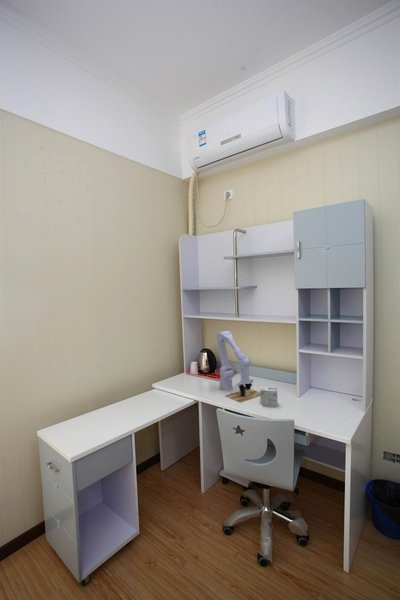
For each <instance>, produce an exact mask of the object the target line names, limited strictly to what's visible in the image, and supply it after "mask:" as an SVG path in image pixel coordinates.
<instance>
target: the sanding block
mask: <svg viewBox="0 0 400 600" xmlns="http://www.w3.org/2000/svg"><path fill="white" fill-rule="evenodd" d="M250 389H251V388H250ZM250 389H247V388H246V387H245V394H244V396H246V397H248V396H251V390H250ZM239 391H240V390H239ZM240 394H241V391H240Z"/></svg>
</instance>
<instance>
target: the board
mask: <svg viewBox="0 0 400 600" xmlns="http://www.w3.org/2000/svg"><path fill="white" fill-rule="evenodd" d="M250 390H251V396H248V397H246V396H243V395H241V394H240V390H239V391H236V392H232V393H229V394H226V395H224V397H226V398H228V399H230V400H232V401H235V402H238V403H239V404H241V403H244V402H247V401H250V400H253V399H256V398H258V397H259V398H260V391H258V390H254V389H252V388H250Z"/></svg>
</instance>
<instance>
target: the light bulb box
mask: <svg viewBox="0 0 400 600" xmlns="http://www.w3.org/2000/svg"><path fill="white" fill-rule="evenodd" d="M259 392H260V396H259V399H260V400H259V401H260V405H261V407H269V408H277V407H278V388H277V387H272V386H271V387H270V386H267V387H266V386H260V390H259Z"/></svg>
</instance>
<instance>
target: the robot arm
mask: <svg viewBox="0 0 400 600" xmlns="http://www.w3.org/2000/svg"><path fill="white" fill-rule="evenodd" d="M233 337H234V336H233V334H232V332H231V331H230V330H225V331H219V332H217V334H216V340H217V341H216V342H217V343H216V344H217V347H218V353H219V357H220V362H221V366H220V368H219V375H220V378H219V389H218V390H222V391H226V392H228V391H232V390H233V377H234V376H235V371H234V369H233V367H232V366H231V365H230V362H229V355H228V353H227V347H226V343H228V344H229V346H230V347H231V349H232V350H233V351H234V353H233V355H234V356H235V358H236V359H237V360H238V366H239V369H240V381H238V382H236V387H238V388H239V391H241V395H243V396H244V394H245V388H247V389H252V388H251V387H252V386H253V383H254V379H252V378H250V365H251V359H250V358H249V356H246V354H244V352H243V349H242V348H239V347H238V345H237V344H236V342H235V340H234V338H233Z"/></svg>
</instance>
